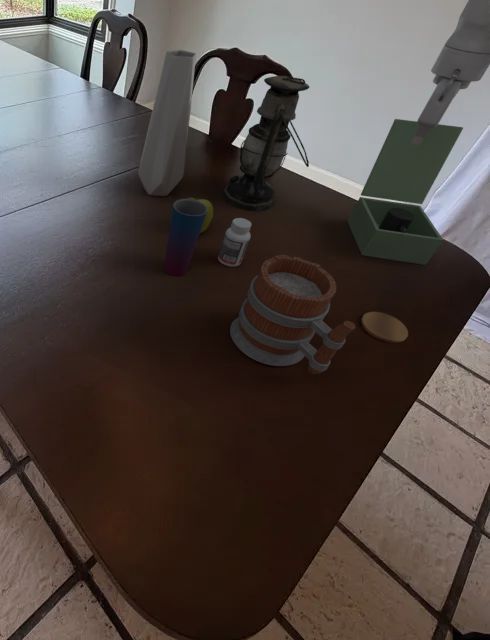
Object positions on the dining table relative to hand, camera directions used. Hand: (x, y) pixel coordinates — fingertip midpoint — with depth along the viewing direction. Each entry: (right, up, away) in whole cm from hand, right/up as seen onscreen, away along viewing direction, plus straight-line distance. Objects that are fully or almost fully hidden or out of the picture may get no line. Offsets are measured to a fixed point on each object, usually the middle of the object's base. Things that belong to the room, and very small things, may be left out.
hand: (419, 137), depth 97 cm
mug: (-39, -47, -16) cm, 63 cm away
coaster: (-15, -42, -10) cm, 46 cm away
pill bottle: (-41, -27, +4) cm, 49 cm away
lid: (+4, -2, +9) cm, 10 cm away
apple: (-47, -17, +13) cm, 52 cm away
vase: (-54, -3, +26) cm, 60 cm away
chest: (+2, -20, +14) cm, 24 cm away
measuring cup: (+1, -20, +12) cm, 24 cm away
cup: (-54, -29, 0) cm, 61 cm away
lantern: (-26, -5, +26) cm, 37 cm away
